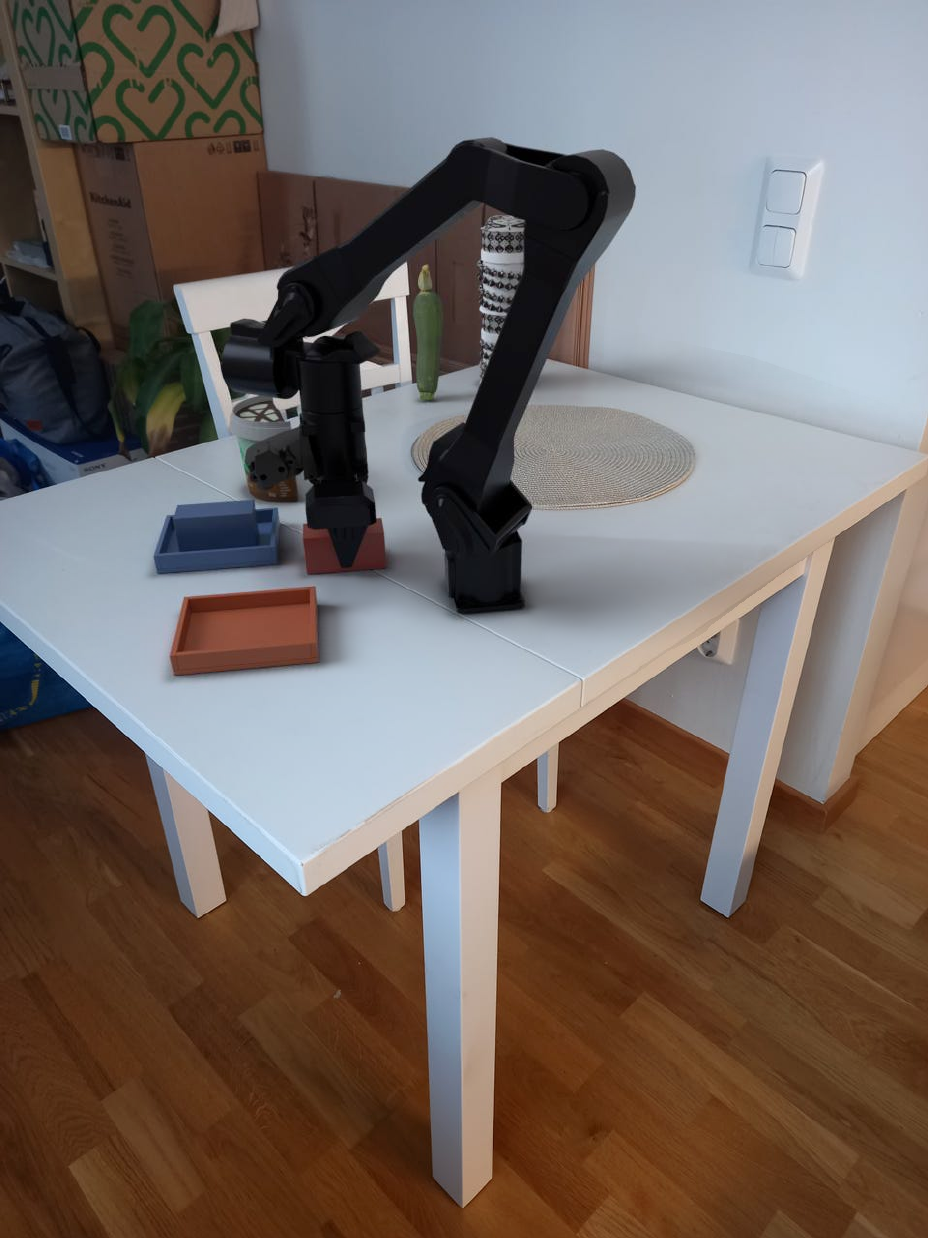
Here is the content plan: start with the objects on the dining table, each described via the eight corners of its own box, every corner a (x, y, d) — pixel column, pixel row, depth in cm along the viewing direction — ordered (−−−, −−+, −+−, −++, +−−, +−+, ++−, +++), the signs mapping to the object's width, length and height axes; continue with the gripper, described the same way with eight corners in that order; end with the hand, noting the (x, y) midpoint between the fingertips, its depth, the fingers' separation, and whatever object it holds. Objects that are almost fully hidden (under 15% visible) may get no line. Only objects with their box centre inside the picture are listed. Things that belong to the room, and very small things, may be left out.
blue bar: (259, 533, 97) (254, 499, 95) (257, 547, 94) (252, 513, 92) (183, 538, 96) (177, 504, 94) (179, 553, 93) (172, 518, 91)
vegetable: (419, 394, 141) (414, 259, 130) (446, 395, 140) (443, 260, 130) (414, 403, 137) (408, 265, 126) (442, 404, 136) (439, 265, 126)
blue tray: (279, 523, 100) (277, 507, 99) (277, 564, 92) (275, 546, 91) (169, 531, 99) (166, 514, 98) (157, 573, 90) (153, 556, 89)
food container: (232, 476, 112) (220, 397, 107) (281, 469, 114) (271, 391, 109) (247, 513, 102) (235, 429, 97) (300, 505, 104) (291, 422, 99)
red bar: (383, 552, 94) (381, 517, 92) (386, 568, 91) (384, 532, 89) (306, 558, 93) (302, 523, 91) (306, 574, 90) (302, 538, 88)
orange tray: (317, 604, 84) (315, 585, 83) (318, 662, 76) (316, 642, 75) (187, 615, 83) (183, 596, 82) (173, 675, 75) (169, 655, 74)
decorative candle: (517, 373, 150) (520, 211, 137) (544, 387, 143) (550, 217, 130) (468, 380, 147) (466, 215, 134) (493, 395, 140) (494, 222, 127)
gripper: (249, 381, 90) (268, 522, 98) (236, 444, 74) (261, 606, 82) (360, 375, 91) (370, 514, 99) (371, 436, 76) (382, 596, 84)
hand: (345, 554), depth 91 cm, fingers open, 5 cm apart
